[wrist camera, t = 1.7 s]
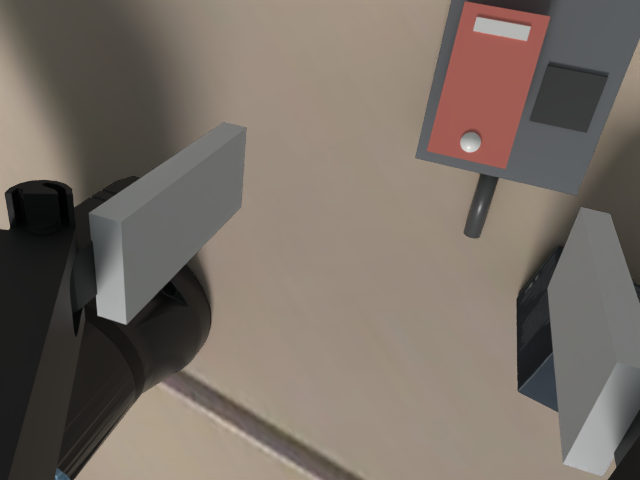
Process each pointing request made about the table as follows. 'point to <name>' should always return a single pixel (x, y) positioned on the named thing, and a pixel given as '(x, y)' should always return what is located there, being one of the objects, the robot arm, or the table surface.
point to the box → (538, 336)
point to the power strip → (550, 95)
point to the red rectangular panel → (487, 83)
